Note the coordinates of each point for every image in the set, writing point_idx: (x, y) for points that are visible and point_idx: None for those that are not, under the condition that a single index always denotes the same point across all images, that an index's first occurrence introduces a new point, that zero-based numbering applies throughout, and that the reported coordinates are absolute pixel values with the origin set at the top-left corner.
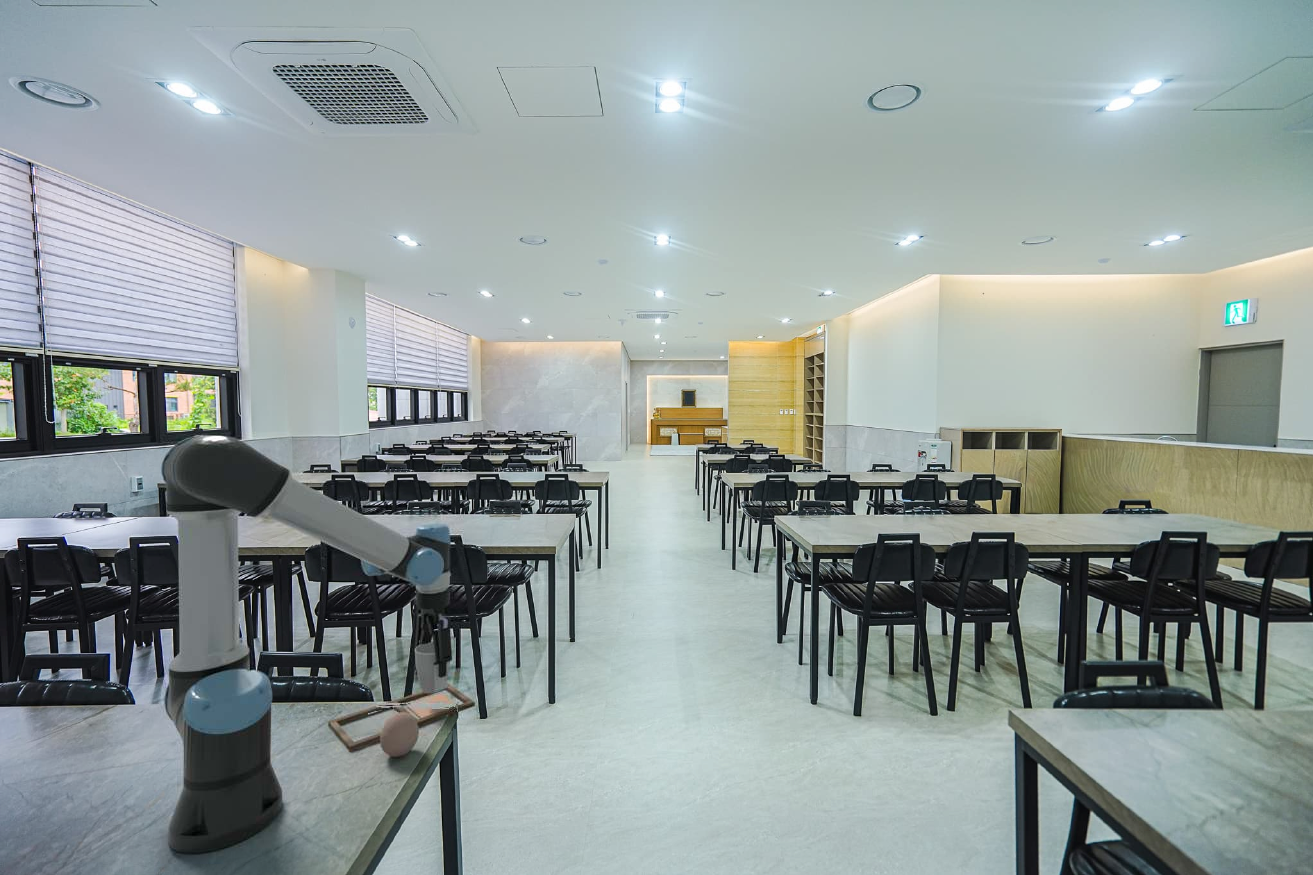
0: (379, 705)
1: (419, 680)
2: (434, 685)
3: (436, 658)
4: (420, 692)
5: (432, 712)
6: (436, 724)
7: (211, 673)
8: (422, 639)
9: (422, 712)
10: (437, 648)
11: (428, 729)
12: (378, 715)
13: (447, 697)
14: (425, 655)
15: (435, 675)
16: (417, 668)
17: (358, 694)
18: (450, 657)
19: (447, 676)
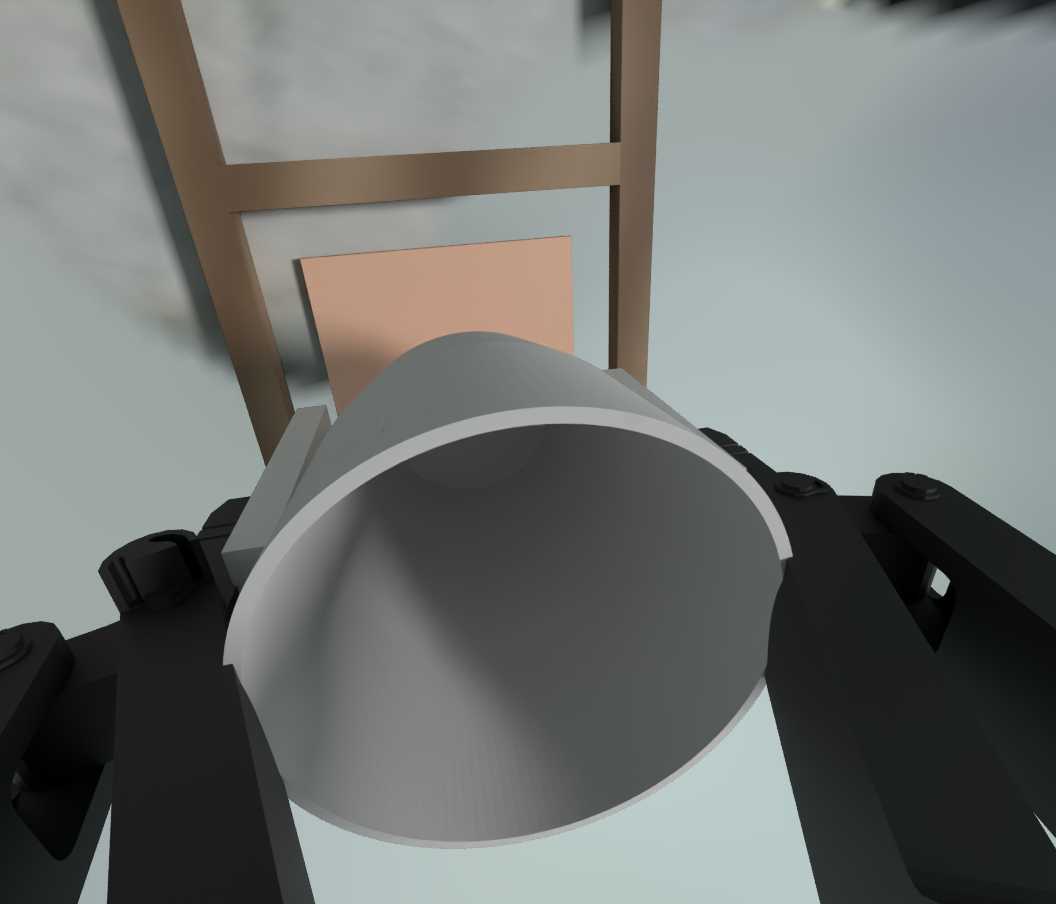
0: (650, 45)
1: (458, 334)
2: (315, 423)
3: (193, 616)
4: (638, 360)
5: (343, 345)
6: (165, 317)
7: None
8: (816, 634)
9: (383, 291)
10: (128, 788)
11: (109, 248)
12: (555, 10)
13: None
14: (289, 511)
15: (268, 473)
16: (472, 346)
17: (967, 14)
18: (16, 789)
19: (417, 550)
